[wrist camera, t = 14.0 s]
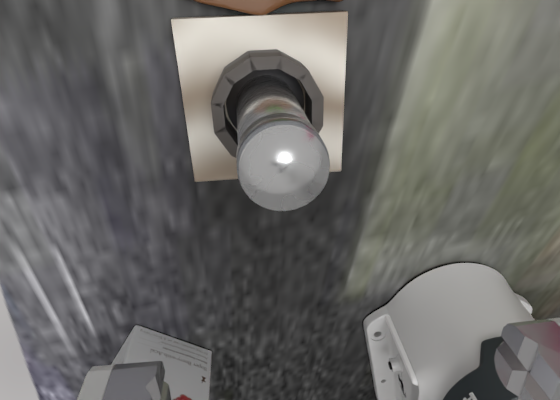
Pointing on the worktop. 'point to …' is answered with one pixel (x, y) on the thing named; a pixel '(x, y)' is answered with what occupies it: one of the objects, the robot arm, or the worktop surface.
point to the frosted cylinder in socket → (277, 147)
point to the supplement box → (170, 361)
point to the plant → (252, 5)
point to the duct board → (255, 62)
